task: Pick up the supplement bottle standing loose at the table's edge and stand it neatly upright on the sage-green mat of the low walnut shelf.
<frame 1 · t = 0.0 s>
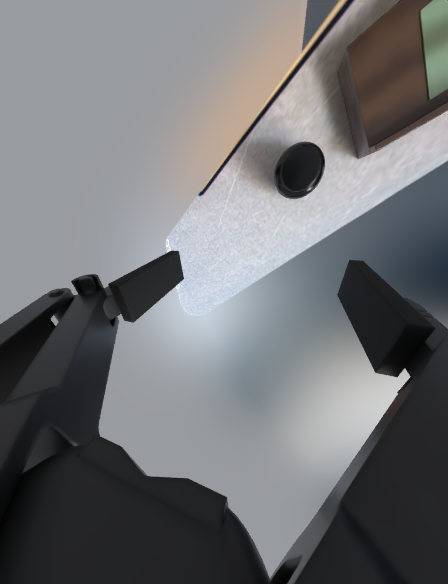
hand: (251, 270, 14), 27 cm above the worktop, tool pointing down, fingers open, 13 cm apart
shelf: (442, 52, 21), on the worktop
supplement bottle: (295, 176, 31), on the worktop
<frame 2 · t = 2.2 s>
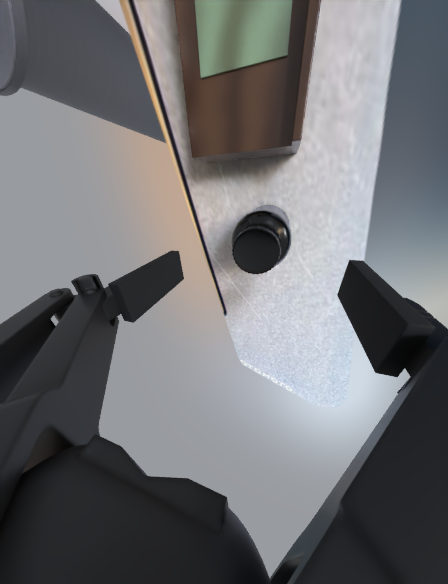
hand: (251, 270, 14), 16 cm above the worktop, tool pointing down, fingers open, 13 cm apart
shelf: (251, 37, 18), on the worktop
supplement bottle: (266, 228, 27), on the worktop
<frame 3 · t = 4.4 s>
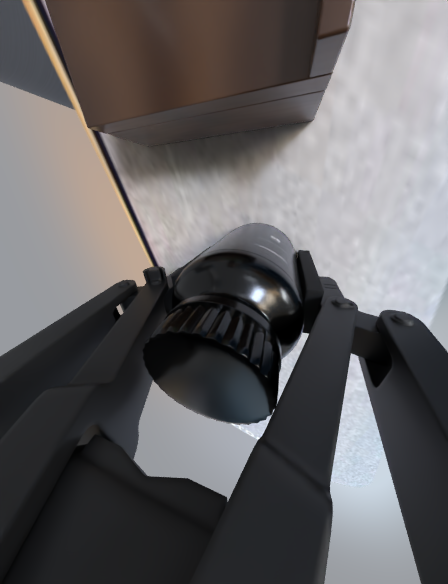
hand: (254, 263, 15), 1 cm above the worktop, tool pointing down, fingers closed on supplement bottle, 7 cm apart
supplement bottle: (255, 260, 16), on the worktop, touching gripper
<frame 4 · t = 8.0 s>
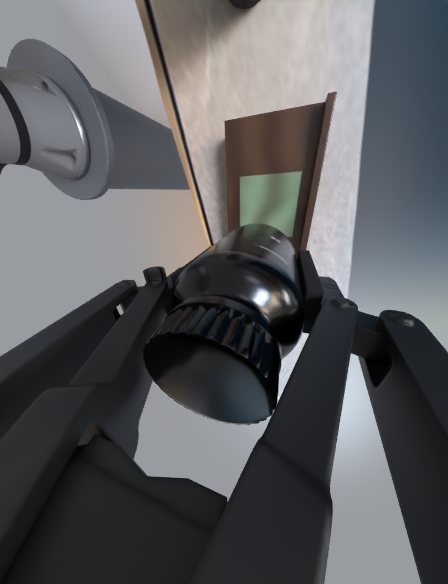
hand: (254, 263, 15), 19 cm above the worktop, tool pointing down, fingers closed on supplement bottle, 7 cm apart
shelf: (269, 205, 29), on the worktop
supplement bottle: (255, 261, 16), point 18 cm above the worktop, touching gripper
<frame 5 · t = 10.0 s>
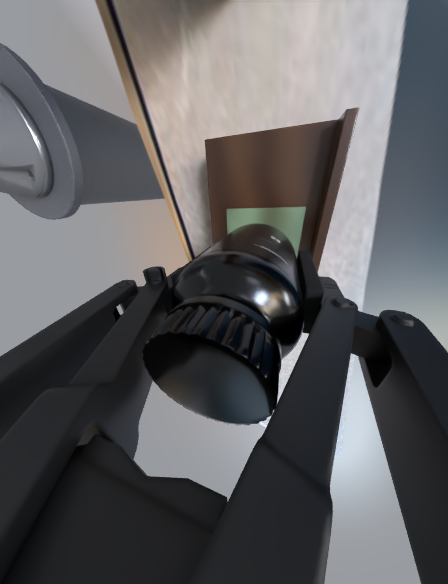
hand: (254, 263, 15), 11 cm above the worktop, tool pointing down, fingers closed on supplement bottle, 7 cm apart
shelf: (265, 236, 24), on the worktop
supplement bottle: (255, 261, 16), point 10 cm above the worktop, touching gripper
when the fingers open (6 cm above the worktop, at t = 11.6 s): supplement bottle stays where it is, resting on shelf.
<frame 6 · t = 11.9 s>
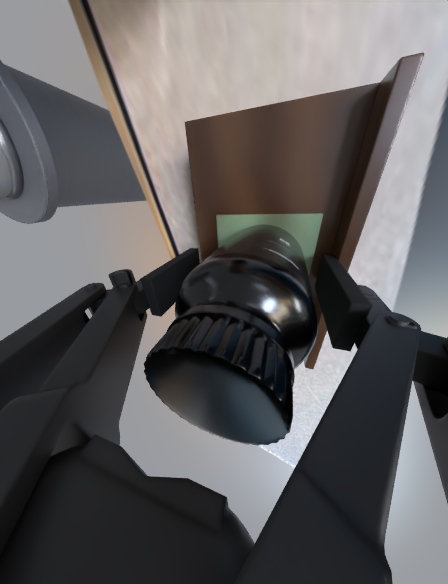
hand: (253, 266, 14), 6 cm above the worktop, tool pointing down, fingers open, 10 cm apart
shelf: (267, 247, 19), on the worktop
supplement bottle: (261, 263, 15), point 5 cm above the worktop, touching shelf
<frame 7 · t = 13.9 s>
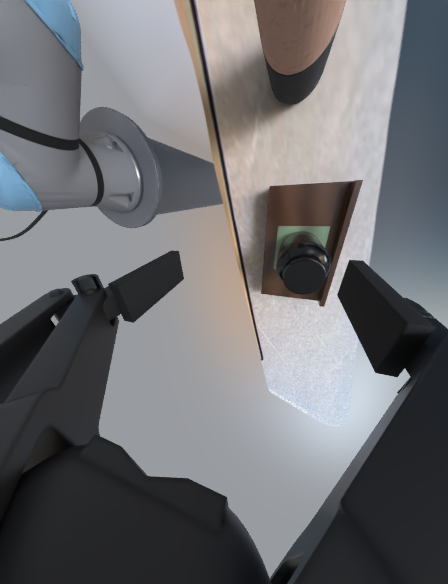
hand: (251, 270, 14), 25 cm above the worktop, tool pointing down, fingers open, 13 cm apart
travel mug: (296, 69, 24), on the worktop
shelf: (297, 243, 34), on the worktop
supplement bottle: (298, 249, 30), point 5 cm above the worktop, touching shelf
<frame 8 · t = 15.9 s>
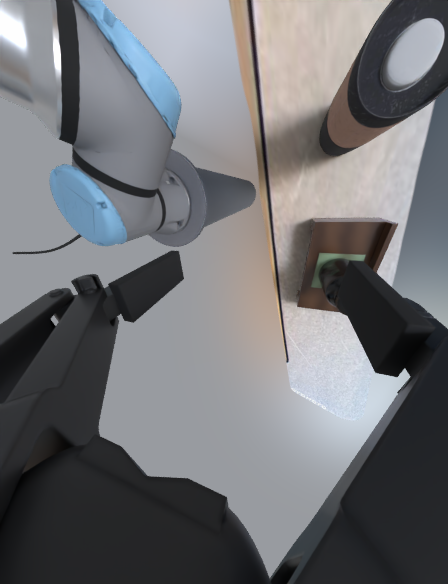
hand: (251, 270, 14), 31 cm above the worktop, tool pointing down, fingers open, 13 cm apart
travel mug: (342, 129, 29), on the worktop
shelf: (330, 263, 40), on the worktop
supplement bottle: (335, 272, 36), point 5 cm above the worktop, touching shelf
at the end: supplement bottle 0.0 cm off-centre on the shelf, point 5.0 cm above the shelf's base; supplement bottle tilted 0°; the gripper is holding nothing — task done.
